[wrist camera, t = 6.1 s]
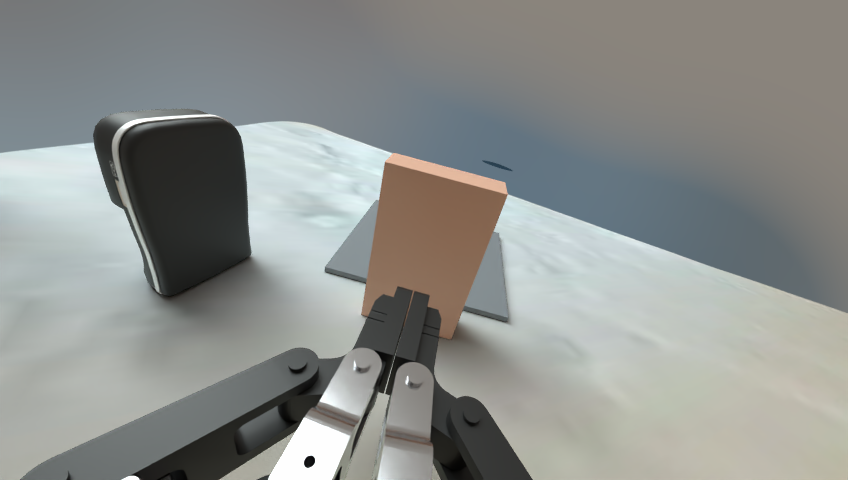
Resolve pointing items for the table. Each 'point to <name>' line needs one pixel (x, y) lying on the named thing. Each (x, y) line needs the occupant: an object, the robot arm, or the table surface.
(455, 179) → the tile
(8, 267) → the table surface
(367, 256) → the mat
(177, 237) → the battery charger
